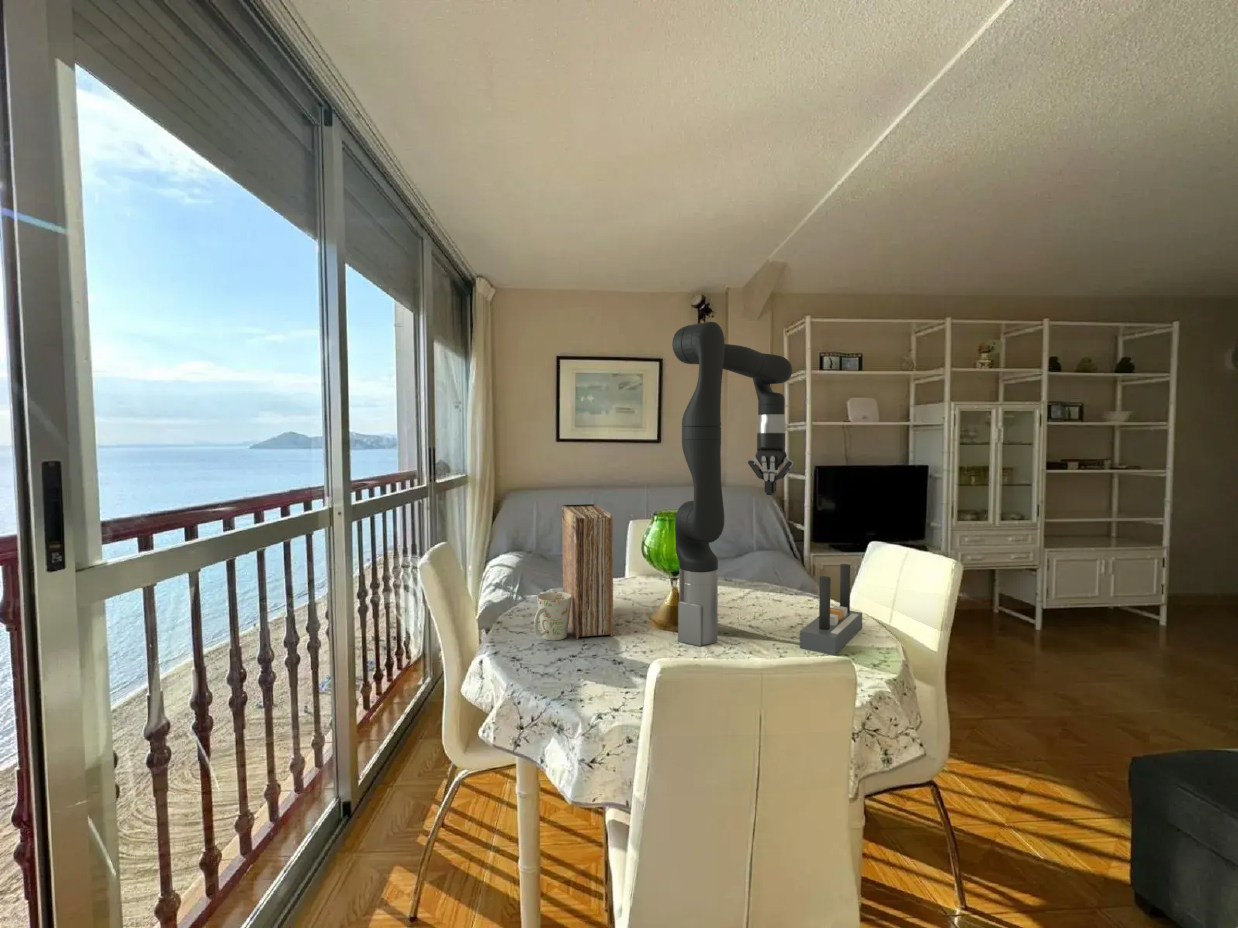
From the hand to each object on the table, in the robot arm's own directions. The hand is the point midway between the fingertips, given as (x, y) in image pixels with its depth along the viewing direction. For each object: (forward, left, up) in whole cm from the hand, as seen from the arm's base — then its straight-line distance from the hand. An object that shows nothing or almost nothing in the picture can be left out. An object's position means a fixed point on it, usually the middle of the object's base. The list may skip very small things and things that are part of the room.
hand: (770, 494), depth 163 cm
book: (-36, +36, -33) cm, 61 cm away
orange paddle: (-8, -20, -29) cm, 36 cm away
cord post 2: (0, -20, -29) cm, 35 cm away
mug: (-51, +35, -33) cm, 70 cm away
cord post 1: (-16, -20, -29) cm, 39 cm away
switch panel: (-10, -20, -33) cm, 40 cm away
